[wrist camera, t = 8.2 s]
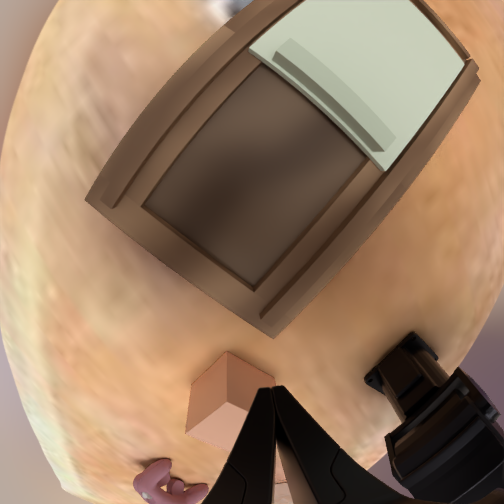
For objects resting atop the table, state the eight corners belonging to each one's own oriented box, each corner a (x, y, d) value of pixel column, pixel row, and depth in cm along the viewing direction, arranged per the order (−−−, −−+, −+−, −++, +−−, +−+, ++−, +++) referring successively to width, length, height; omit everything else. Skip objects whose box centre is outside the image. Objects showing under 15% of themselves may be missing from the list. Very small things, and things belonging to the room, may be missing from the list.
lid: (459, 65, 14) (477, 60, 12) (380, 170, 16) (399, 173, 14) (360, -33, 11) (371, -47, 9) (248, 51, 14) (251, 36, 11)
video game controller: (147, 449, 27) (121, 487, 22) (170, 458, 25) (142, 501, 19) (190, 479, 30) (170, 514, 25) (213, 487, 28) (193, 524, 22)
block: (274, 377, 22) (284, 426, 17) (237, 407, 23) (239, 455, 18) (226, 350, 21) (226, 401, 16) (191, 384, 22) (184, 433, 17)
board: (473, 82, 15) (486, 79, 13) (271, 331, 21) (275, 345, 19) (340, -50, 11) (347, -60, 9) (91, 197, 17) (78, 201, 15)
